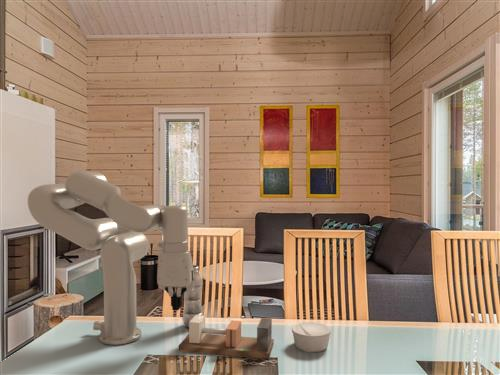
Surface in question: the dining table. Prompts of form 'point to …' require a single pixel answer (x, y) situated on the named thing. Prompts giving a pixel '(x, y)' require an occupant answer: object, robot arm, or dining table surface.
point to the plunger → (201, 329)
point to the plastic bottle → (193, 299)
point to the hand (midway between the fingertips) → (176, 308)
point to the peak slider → (233, 334)
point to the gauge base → (245, 347)
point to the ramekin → (311, 336)
